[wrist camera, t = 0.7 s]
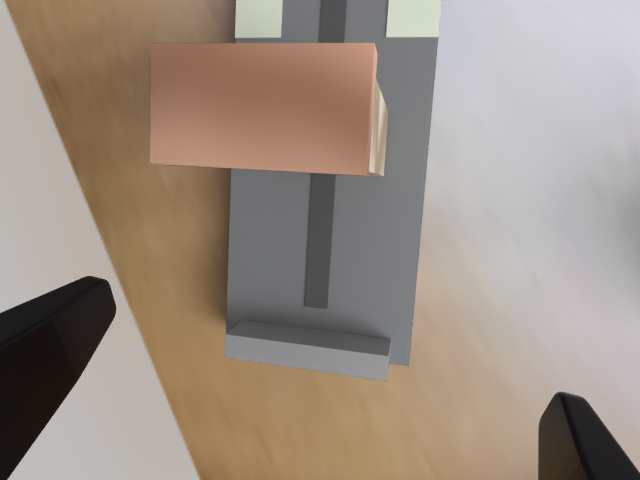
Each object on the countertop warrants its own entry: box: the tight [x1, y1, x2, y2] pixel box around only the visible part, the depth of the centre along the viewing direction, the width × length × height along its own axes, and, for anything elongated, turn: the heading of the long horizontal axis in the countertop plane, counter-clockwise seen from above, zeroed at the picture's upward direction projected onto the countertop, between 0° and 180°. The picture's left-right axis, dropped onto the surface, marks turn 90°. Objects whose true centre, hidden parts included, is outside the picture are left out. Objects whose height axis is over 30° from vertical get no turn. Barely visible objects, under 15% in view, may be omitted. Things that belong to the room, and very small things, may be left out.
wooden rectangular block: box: [150, 43, 388, 176], centre depth 17 cm, size 3×6×10 cm, turn 87°
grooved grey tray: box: [225, 0, 442, 381], centre depth 22 cm, size 22×10×4 cm, turn 177°
